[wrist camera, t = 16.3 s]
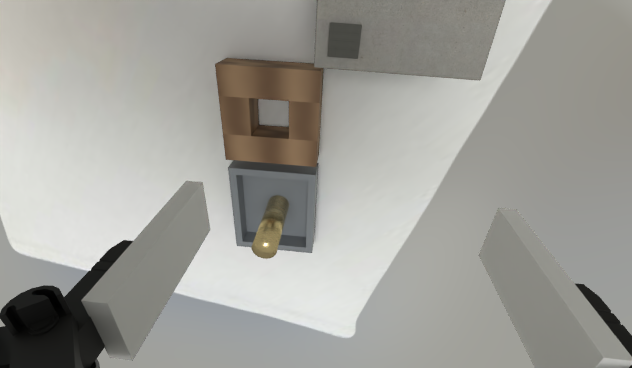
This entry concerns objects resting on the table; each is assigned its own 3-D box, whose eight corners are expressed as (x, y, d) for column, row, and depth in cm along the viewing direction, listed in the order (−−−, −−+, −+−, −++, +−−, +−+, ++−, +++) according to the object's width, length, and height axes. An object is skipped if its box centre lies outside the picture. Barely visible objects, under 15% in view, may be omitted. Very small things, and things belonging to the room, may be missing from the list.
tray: (243, 231, 53) (236, 245, 50) (236, 156, 46) (228, 167, 43) (314, 238, 53) (312, 253, 50) (318, 163, 45) (316, 175, 42)
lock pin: (269, 211, 49) (252, 257, 41) (267, 194, 48) (250, 238, 39) (289, 213, 49) (277, 259, 41) (288, 195, 48) (276, 240, 39)
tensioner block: (235, 147, 45) (225, 159, 42) (226, 58, 39) (215, 64, 36) (318, 153, 45) (316, 166, 41) (323, 64, 38) (321, 71, 35)
